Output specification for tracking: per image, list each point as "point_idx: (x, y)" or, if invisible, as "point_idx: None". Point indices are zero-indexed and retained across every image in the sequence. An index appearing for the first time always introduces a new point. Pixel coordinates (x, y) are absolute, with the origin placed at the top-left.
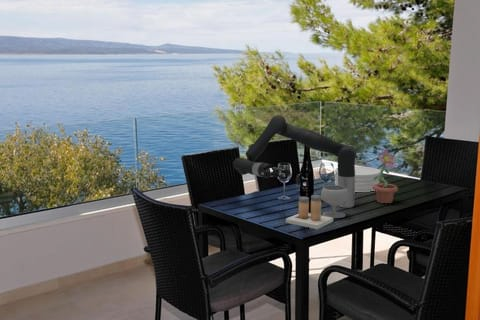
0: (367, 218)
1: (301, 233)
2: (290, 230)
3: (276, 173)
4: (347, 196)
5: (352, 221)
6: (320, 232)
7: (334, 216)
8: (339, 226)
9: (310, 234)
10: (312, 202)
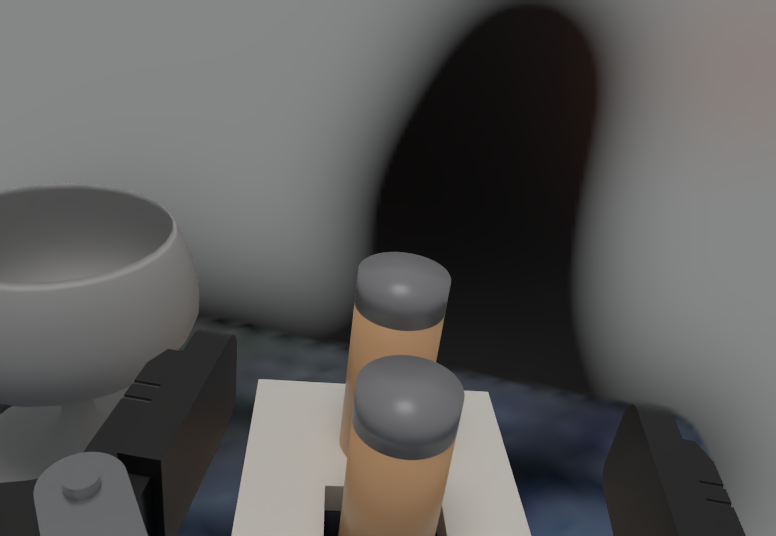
0: None
1: None
2: None
3: (678, 458)
4: (83, 235)
5: (189, 335)
6: (513, 385)
7: None
8: (334, 353)
9: (589, 408)
10: (441, 328)
